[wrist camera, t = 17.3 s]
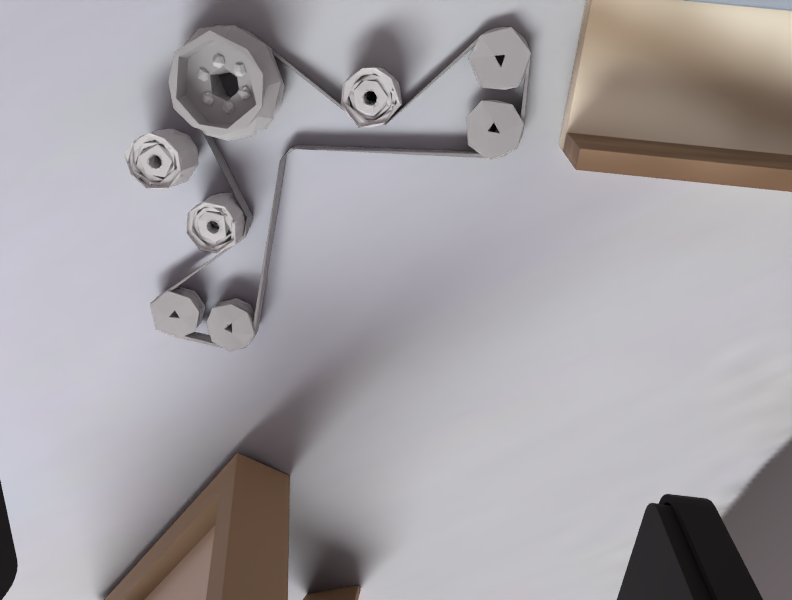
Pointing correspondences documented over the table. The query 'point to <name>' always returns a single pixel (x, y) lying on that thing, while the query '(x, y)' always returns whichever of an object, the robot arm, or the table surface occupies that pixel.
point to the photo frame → (225, 544)
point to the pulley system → (253, 111)
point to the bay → (682, 93)
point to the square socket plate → (752, 3)
